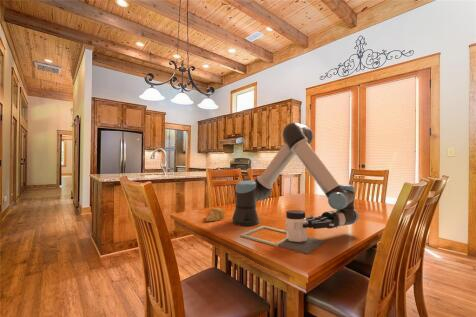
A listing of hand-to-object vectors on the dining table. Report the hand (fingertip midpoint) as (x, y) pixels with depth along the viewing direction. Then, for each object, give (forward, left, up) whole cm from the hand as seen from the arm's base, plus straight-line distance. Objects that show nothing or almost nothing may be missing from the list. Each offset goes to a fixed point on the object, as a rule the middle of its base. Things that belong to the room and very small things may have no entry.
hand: (295, 226), depth 95 cm
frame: (-15, +4, -8) cm, 18 cm away
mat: (+1, +4, -8) cm, 9 cm away
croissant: (-57, +10, -9) cm, 58 cm away
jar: (-2, +5, -7) cm, 9 cm away
